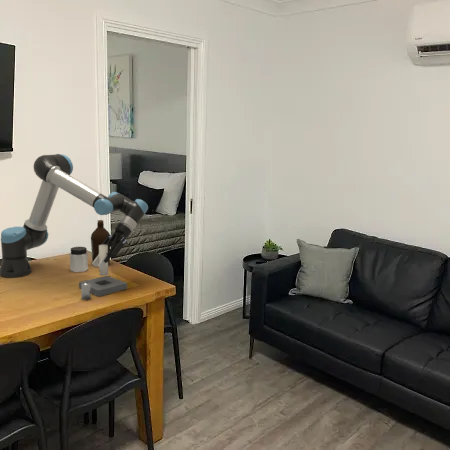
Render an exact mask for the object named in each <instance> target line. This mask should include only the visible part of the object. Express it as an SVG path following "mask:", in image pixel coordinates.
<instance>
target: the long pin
mask: <svg viewBox="0 0 450 450" xmlns="http://www.w3.org/2000/svg"><path fill="white" fill-rule="evenodd" d="M106 253H108V245H99V263H100V261H101V260H102V259H103V257H104V256H105V255H107V254H106ZM98 268H99V267H98ZM98 271H99V276H101V277H103V276H109V265H108V262H107V263H106V264H105V266H104V267H103V268H102V269H100V268H99V270H98Z"/></svg>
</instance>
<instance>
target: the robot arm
mask: <svg viewBox="0 0 450 450" xmlns="http://www.w3.org/2000/svg"><path fill="white" fill-rule="evenodd" d="M73 170H74V165H73V162H72V160H71V158H69V156H68V155H66V154H60V153H56V154H43V155H41V156H38V157H37V158H36V159H35V161H34V163H33V171H34V174H35V175H36V177H38V178H39V179H40V180H42V181H41V183H40V187H39V190H38V192H37V196H36V197H35V201H34V204H33V206H32V209H31V213H30V216H29V218H28V219H26V220H25V221H24V223H23V225H22V226H12V227H7V228H5V229H3V230H2V231H1V233H0V234H1V236H0V242H1V243H0V245H1V259H2V260H1V262H0V275H1V276H0V277H2V276H4V277H3V278H19V277H25V276H28V275H31V273H32V267H31V263H30V261H29V259H28V255H27V254H28V250H32V249H35V248H39V247H40V246H42V245H44V244H45V243H46V242H47V241H48V239H49V232H48V225H47V221H48V219H49V216H50V212H51V210H52V208H53V205H54V202H55V199H56V196H57V194H58V191H59V188H60V189H61V190H62V191H65V192H66V193H68V194H69V195H72V196H73V197H75V198H77V199H79V200H81V201H82V202H83V203H85V204H87V205H89V206H90V207H92V208H93V209H94V211H95V213H96V214H97V215H99V216H106V215H110V214H113V213H116V212H121V213H122V214H124V216H123V217H122V218H121V219H120V221H119V223H118V224H116V226H115V227H114V232H113V233H112V234H110V233H109V234H108V235H107V237H106V239H105V240H104V242H103V243H102V245H108V250H109V249H110V250H109V252H108V253H106V254H107V255H105V256H104V257H103V259H102V260H101V261H100V263H99V254H98V255H97V257H96V259H95V260H94V261H93V263H91V265H92V266H93V267H95V268H97V267H98V268H100V269H102V268H103V267H104V266H105V264H106V263H107V262H108V261H109V259H110V260H111V259H112V258H116V256H118V254H119V252H120V251H121V250H122V248H124V246H125V245H126V244H127V243H128V240H127V238H129V236H130V235H131V234H132V231H134V229H136V226H137V225H138V224H139V223H140V221H142V219H143V217H144V216H145V214H146V213H147V212H148V210H149V206H148V204H147V202H146V201H144V200H142V199H140V198H136V199H135V200H131V199H130V198H128V197H126V196H125V195H123V194H121V193H119V192H116V191H112V192H110V193H109V194H108V196H106V195H104V194H103V193H101V192H99V191H98V190H96V189H94V188H92V187H90V186H89V185H88V184H86V183H83V182H82V181H80V180H78V179H77V178H75V177H74V176H71V175H72V173H73ZM98 251H99V249H98ZM97 265H98V266H97Z"/></svg>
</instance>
